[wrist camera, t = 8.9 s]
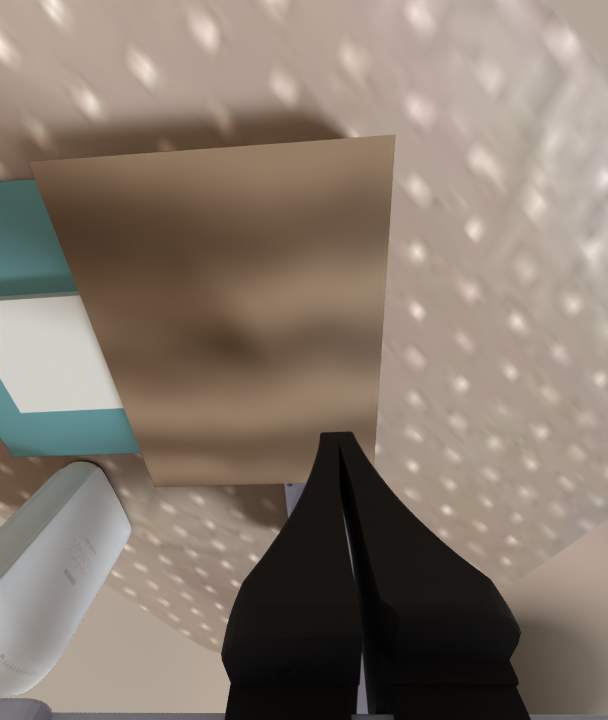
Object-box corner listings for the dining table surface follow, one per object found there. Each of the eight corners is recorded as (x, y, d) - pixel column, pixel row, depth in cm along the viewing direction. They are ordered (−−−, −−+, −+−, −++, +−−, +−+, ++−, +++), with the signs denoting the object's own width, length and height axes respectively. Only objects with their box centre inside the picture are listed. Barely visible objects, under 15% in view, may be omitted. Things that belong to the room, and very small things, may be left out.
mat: (171, 448, 24) (169, 452, 24) (17, 453, 25) (12, 457, 25) (82, 177, 16) (77, 176, 16) (-148, 193, 17) (-158, 192, 16)
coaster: (141, 394, 22) (128, 407, 20) (42, 399, 22) (20, 412, 20) (103, 289, 18) (83, 295, 17) (-14, 297, 19) (-45, 303, 17)
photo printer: (139, 532, 29) (35, 719, 18) (99, 533, 30) (-28, 719, 18) (104, 458, 25) (-60, 643, 14) (58, 459, 25) (-142, 643, 14)
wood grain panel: (363, 442, 24) (372, 481, 20) (177, 448, 24) (154, 486, 21) (375, 156, 15) (395, 134, 12) (91, 176, 16) (27, 161, 12)
